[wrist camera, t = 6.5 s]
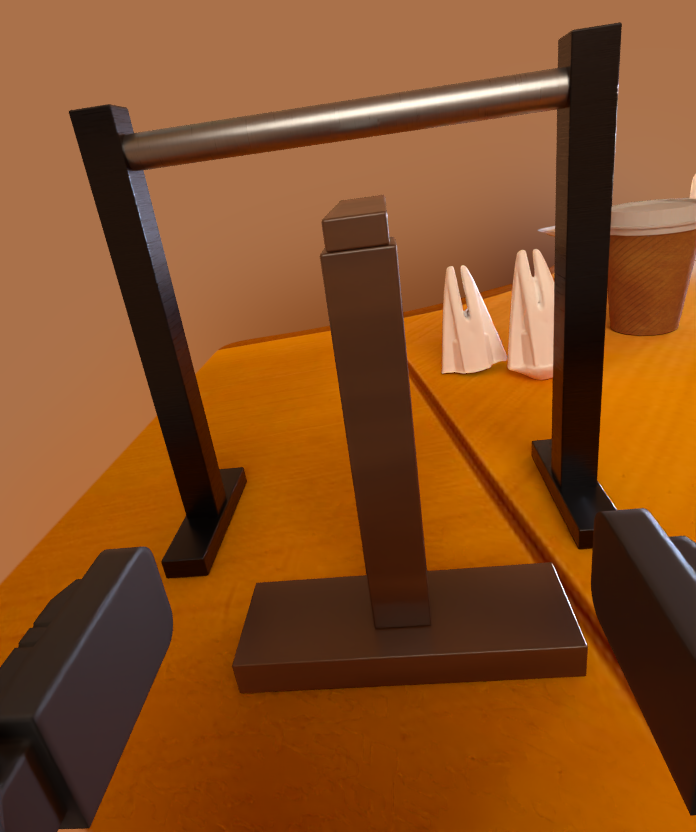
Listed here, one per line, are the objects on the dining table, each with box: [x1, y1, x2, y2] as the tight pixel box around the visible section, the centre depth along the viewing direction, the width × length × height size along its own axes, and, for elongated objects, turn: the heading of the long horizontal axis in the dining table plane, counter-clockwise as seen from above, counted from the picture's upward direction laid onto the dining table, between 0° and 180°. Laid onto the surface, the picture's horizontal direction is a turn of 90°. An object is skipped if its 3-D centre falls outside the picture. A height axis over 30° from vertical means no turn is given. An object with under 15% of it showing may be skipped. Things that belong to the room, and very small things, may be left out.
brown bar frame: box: [232, 195, 588, 693], centre depth 24 cm, size 10×14×18 cm
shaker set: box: [442, 249, 554, 380], centre depth 50 cm, size 12×4×11 cm, turn 54°
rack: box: [69, 23, 622, 578], centre depth 30 cm, size 24×10×23 cm, turn 87°
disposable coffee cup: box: [607, 198, 696, 335], centre depth 57 cm, size 10×10×12 cm
